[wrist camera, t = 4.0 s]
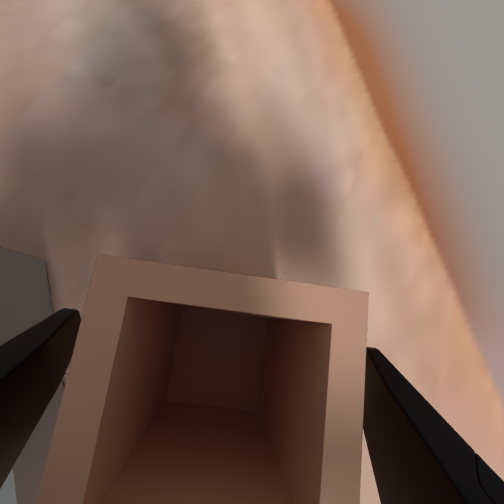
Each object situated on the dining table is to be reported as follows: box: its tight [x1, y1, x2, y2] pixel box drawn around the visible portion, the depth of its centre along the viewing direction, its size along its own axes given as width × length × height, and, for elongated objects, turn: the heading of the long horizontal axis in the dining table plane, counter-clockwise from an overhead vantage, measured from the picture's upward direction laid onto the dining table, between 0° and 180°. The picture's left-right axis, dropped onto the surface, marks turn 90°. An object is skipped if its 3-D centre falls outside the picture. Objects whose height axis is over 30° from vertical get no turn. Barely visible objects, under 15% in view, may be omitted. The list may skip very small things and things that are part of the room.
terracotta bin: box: [36, 254, 369, 504], centre depth 11 cm, size 6×6×10 cm
